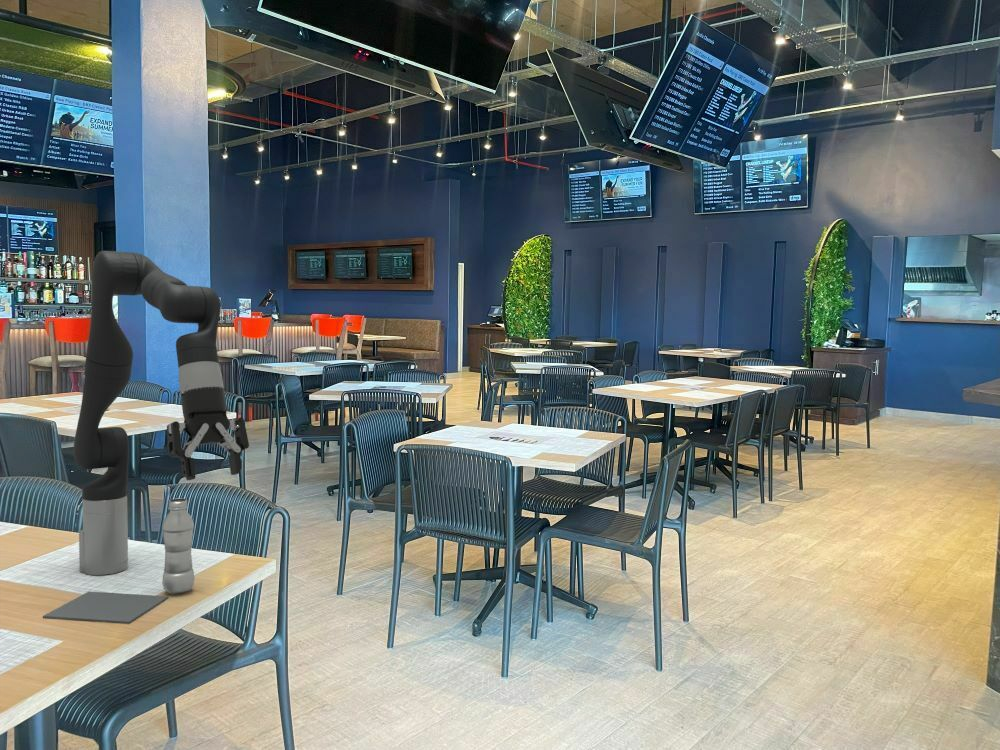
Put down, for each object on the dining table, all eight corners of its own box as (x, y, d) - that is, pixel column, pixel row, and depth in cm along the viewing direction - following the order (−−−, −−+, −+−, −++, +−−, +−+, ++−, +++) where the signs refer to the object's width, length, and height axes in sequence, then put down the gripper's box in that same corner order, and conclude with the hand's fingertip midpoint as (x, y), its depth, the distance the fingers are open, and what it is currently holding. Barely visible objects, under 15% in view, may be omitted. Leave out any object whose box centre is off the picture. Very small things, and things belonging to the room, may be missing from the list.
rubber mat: (42, 618, 151) (42, 616, 151) (88, 593, 164) (88, 591, 164) (129, 623, 149) (129, 621, 148) (168, 598, 162) (168, 596, 162)
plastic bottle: (160, 598, 162) (159, 504, 161) (164, 587, 169) (163, 497, 167) (192, 596, 164) (192, 503, 163) (196, 585, 170) (195, 496, 169)
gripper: (228, 393, 150) (239, 476, 147) (154, 395, 139) (165, 484, 137) (247, 384, 145) (259, 469, 142) (172, 385, 134) (184, 478, 132)
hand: (213, 476), depth 140 cm, fingers open, 8 cm apart
